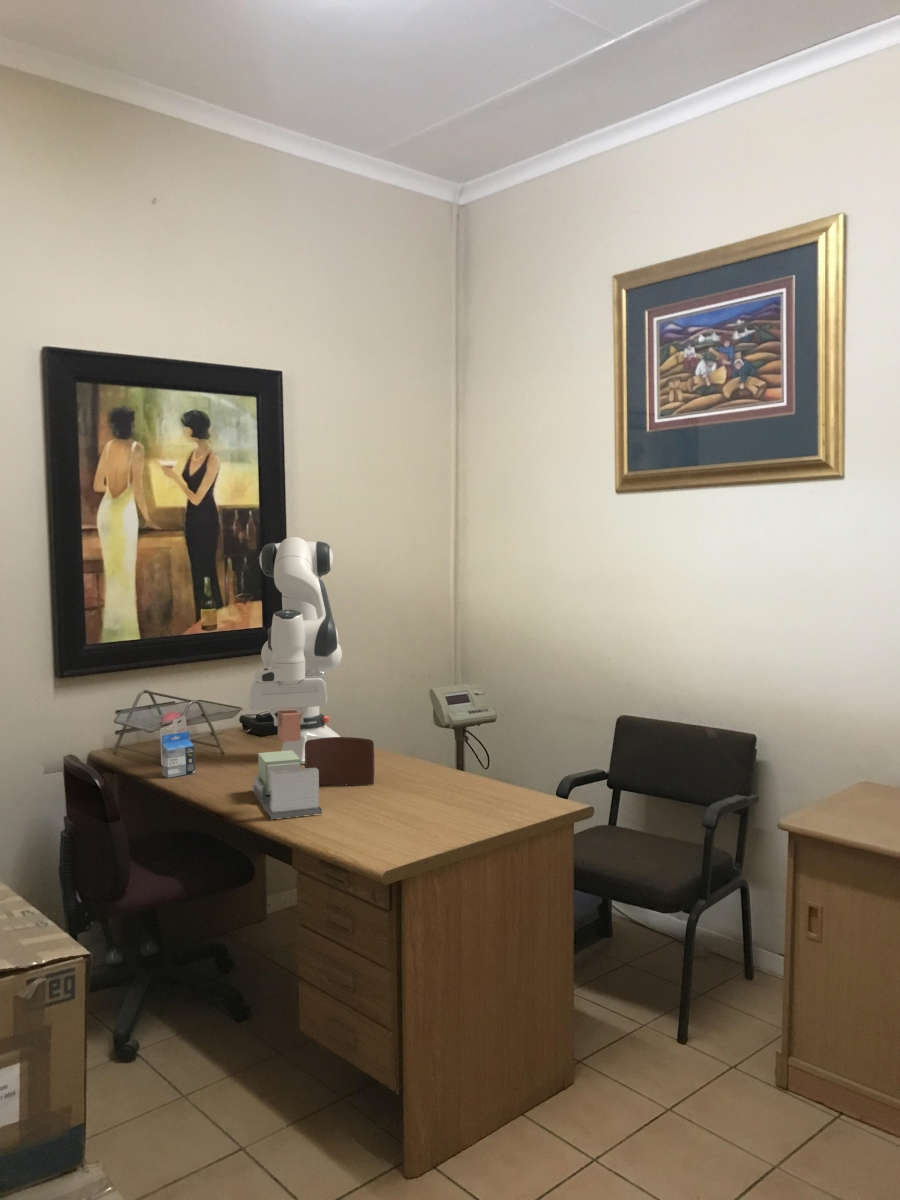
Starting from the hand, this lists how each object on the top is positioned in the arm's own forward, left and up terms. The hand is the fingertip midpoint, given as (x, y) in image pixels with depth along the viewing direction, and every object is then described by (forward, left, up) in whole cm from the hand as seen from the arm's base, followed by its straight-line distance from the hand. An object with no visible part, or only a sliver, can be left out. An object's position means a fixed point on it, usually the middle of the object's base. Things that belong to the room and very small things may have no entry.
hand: (288, 724), depth 247 cm
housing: (0, 0, -4) cm, 4 cm away
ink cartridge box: (+24, -60, -22) cm, 68 cm away
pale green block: (0, -13, -20) cm, 24 cm away
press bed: (0, -5, -22) cm, 23 cm away
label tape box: (+24, -45, -22) cm, 56 cm away
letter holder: (-19, -21, -23) cm, 37 cm away
